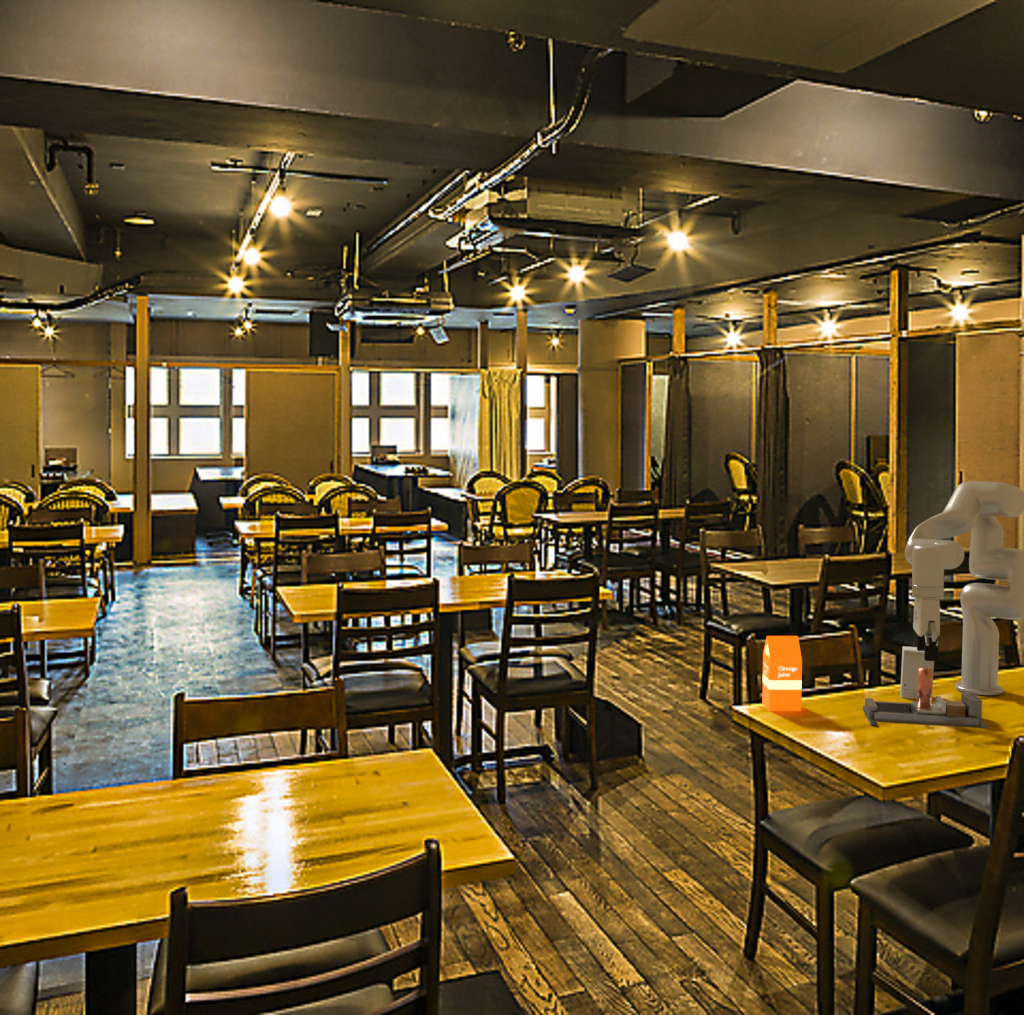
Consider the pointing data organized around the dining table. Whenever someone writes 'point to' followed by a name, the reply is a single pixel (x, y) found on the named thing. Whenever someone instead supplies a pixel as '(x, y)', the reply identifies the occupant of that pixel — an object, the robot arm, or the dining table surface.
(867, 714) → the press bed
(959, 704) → the brown wooden cube
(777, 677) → the orange juice
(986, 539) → the robot arm
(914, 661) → the skincare box
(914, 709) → the ram
